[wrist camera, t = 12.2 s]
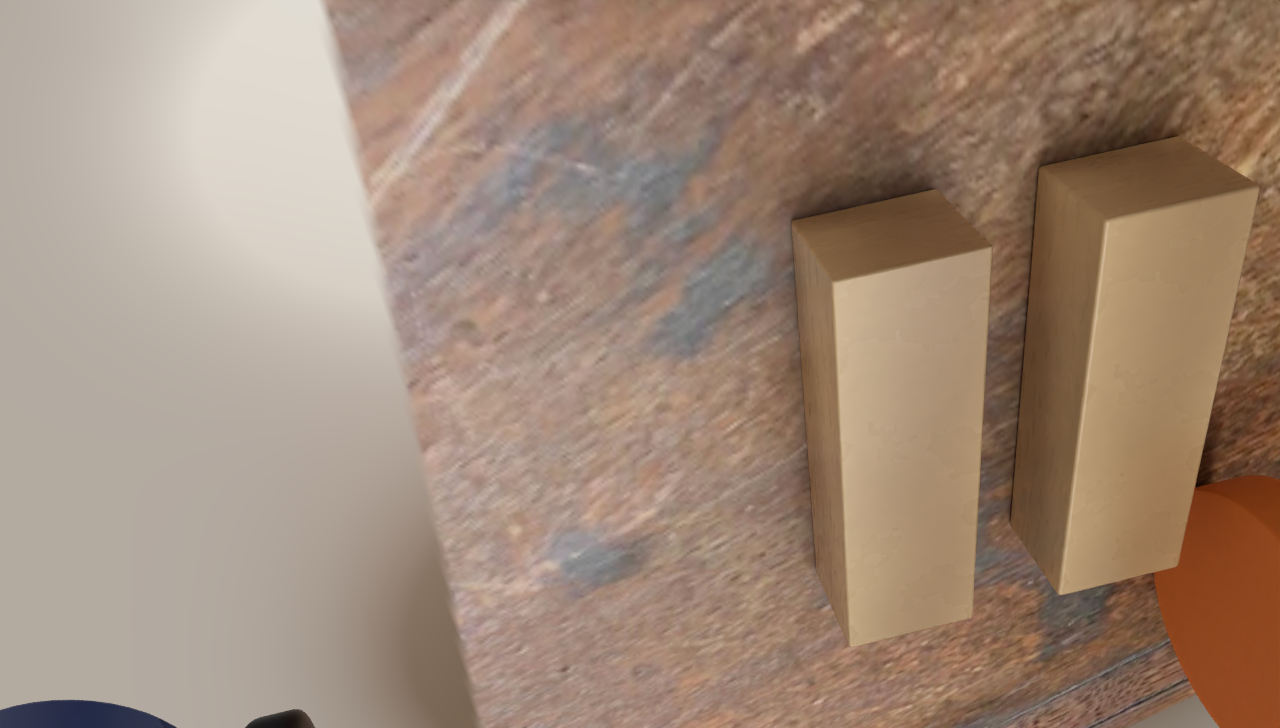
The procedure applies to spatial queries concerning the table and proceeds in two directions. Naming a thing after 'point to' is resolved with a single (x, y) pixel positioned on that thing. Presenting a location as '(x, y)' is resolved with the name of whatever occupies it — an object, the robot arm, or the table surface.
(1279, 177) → the table surface
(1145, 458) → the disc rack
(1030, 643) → the table surface
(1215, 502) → the disc
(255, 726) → the robot arm
